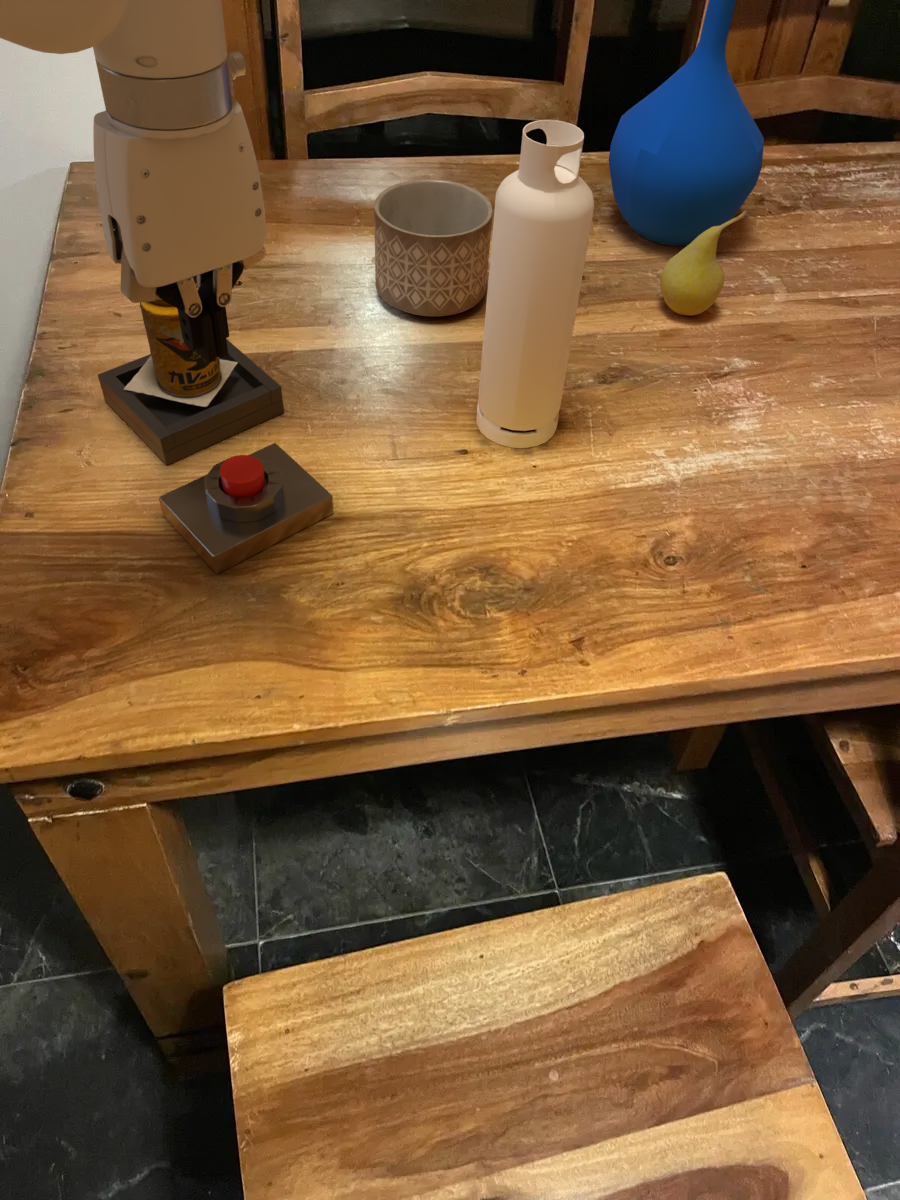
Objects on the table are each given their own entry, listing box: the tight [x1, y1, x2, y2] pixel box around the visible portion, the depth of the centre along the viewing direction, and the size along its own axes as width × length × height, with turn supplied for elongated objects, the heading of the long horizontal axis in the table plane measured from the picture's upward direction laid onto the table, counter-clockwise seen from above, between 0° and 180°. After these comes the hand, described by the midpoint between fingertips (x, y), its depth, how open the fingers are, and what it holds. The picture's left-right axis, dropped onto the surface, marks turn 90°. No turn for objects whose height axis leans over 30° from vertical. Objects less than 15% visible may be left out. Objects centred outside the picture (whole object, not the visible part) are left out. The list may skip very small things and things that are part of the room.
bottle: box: [475, 119, 595, 449], centre depth 82 cm, size 8×8×28 cm
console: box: [158, 442, 334, 575], centre depth 81 cm, size 12×9×4 cm
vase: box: [608, 0, 765, 247], centre depth 109 cm, size 18×18×30 cm
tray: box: [97, 338, 285, 466], centre depth 91 cm, size 13×12×3 cm
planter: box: [373, 178, 494, 317], centre depth 104 cm, size 13×13×10 cm
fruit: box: [659, 209, 749, 316], centre depth 103 cm, size 7×8×12 cm
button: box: [220, 454, 265, 498], centre depth 79 cm, size 4×4×2 cm
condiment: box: [124, 275, 238, 407], centre depth 85 cm, size 7×8×12 cm
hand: (208, 350), depth 70 cm, fingers closed
